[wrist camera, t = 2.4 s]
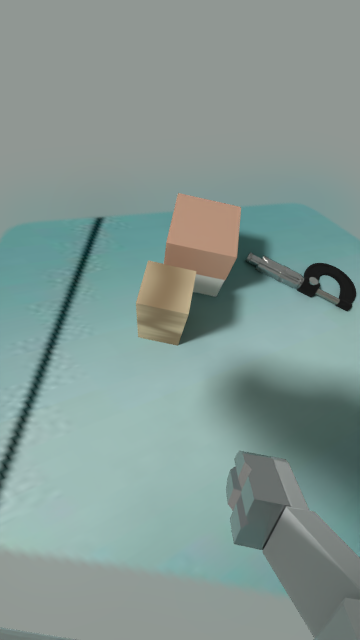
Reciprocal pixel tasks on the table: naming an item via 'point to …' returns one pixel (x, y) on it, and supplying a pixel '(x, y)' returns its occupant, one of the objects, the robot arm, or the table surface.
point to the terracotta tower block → (203, 236)
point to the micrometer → (308, 279)
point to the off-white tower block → (207, 285)
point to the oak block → (164, 302)
